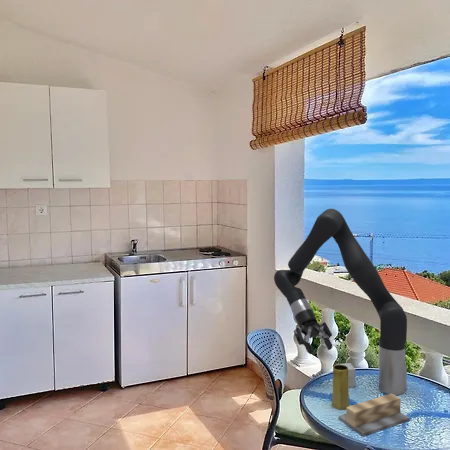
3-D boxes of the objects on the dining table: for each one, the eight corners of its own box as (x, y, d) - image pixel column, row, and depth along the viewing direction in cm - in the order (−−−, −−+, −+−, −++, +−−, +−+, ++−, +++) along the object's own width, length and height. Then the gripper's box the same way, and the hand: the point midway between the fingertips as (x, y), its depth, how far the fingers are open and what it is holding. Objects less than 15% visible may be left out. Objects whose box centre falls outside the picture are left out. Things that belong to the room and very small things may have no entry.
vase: (349, 410, 164) (349, 371, 163) (331, 409, 166) (331, 370, 164) (348, 401, 170) (349, 364, 169) (331, 400, 171) (331, 363, 170)
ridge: (383, 404, 168) (383, 388, 167) (409, 420, 157) (409, 403, 156) (338, 418, 159) (338, 402, 158) (363, 436, 148) (363, 418, 148)
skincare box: (355, 387, 181) (355, 369, 180) (340, 388, 181) (340, 370, 180) (350, 380, 187) (350, 362, 186) (335, 381, 187) (335, 363, 186)
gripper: (291, 311, 178) (309, 350, 169) (322, 305, 184) (341, 343, 176) (284, 320, 184) (301, 359, 175) (314, 315, 190) (332, 351, 181)
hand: (321, 351), depth 175 cm, fingers open, 8 cm apart
